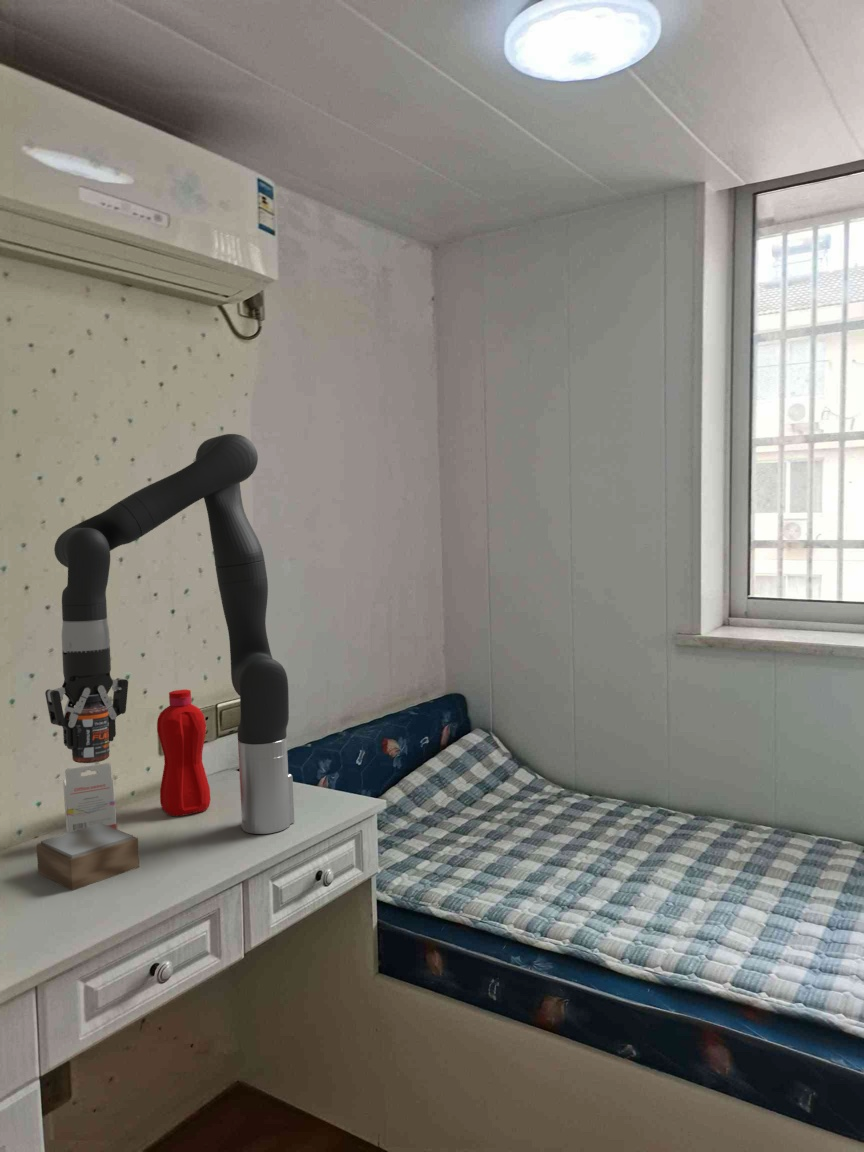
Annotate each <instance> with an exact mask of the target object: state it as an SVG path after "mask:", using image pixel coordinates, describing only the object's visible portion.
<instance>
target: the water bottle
mask: <svg viewBox="0 0 864 1152" xmlns="http://www.w3.org/2000/svg"><path fill="white" fill-rule="evenodd" d="M191 692H192V691H191V689H178V690H172V691H170V692H168V702H169V705H168V706H167V707H165V708H164V709H163V710H162V711H161V712H160V713H159V715H158V718H157V723H156V725H157V727H156V728H157V729H156V730H157V731H156V732H157V734H158V739H159V743H160V746H161V749H162V753H163V756H164V758H163V759H164V760H163V761H164V765H163V769H162V771H163V772H162V778H161V783H160V789H159V796H160V797H159V798H160V799H159V800H160V806H161V809H162V810H163V811H164V813H166V814H167V815H169V816H172V817H182V816H186V815H192V814H195V813H196V814H197V813H202V812H205V810H208V808H209V807H210V805H211V804H210V803H211V788H210V784H209V781H208V778H207V773H206V771H205V767H204V763H203V750H204V745H205V738H206V732H207V724H206V718H205V715H204V713H203V711H201V708H199V707H198V706H196V705H194V704H192V693H191Z"/></svg>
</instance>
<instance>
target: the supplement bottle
mask: <svg viewBox="0 0 864 1152" xmlns="http://www.w3.org/2000/svg"><path fill="white" fill-rule="evenodd" d="M108 719H109V718H108V708H107V707H106V706H104V705H103V703H102V700H101V697H100V695H99V694H93V695H89V696H88V698H87V699H86V702H85V705H84V707H83V710H82V712H81V714H80V715H78V718H77V721H76V724H75V726H74V727H77V749H74V750H71V756H72V761H74V762H75V763H78V764H94V763H99V762H102V761H105V760H107V759H108V758H109V757H110V750H111V749H110V742H111V741H110V742H109V721H108Z"/></svg>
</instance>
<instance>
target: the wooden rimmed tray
mask: <svg viewBox="0 0 864 1152" xmlns="http://www.w3.org/2000/svg"><path fill="white" fill-rule="evenodd" d="M139 851H140V850H139V838H138V837H135V836H134V835H132V834H130V833H127V832H125V831H123V830H119V829H118V828H117V829H115V828H112V827H109V826H107V825H104V824H101V823H100V824H97V825H93V826H90V827H87V828H83V829H80V830H77V831H73V832H70V833H67V832H66V833H64V834H61V835H57V836H54V837H50V838H47V839H44V840H40V843H37V844H36V858H37V873H38V874H39V875H42V876H44V877H46V878H47V879H50V880H52V881H53V882H56V883H58V884H59V885H62V886H64V888H65V887H66V888H68V889H70V890H72V891H74V890H77V889H80V888H82V887H85V886H86V887H87V886H88V885H91V884H94V883H98V882H100V881H103V880H106V879H108V878H111V877H115V876H117V875H120V874H123V873H125V871H126V872H129V871H131V869H132V870H134V868H135V869H137V868H140V855H139V854H140V852H139ZM136 867H137V868H136ZM128 870H129V871H128Z"/></svg>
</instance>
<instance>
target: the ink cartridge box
mask: <svg viewBox="0 0 864 1152" xmlns="http://www.w3.org/2000/svg"><path fill="white" fill-rule="evenodd" d="M87 771H90V772H96V773H93V774H87V775H81V774H82V773H87ZM64 773H65V779H62V780H63V781H62V782H63V783H62V784H63V785H62V786H63V796H64V813H65V824H66V825H65V827H66V828H65V829H66V834H67V833H70V832H73V831H77V830H80V829H83V828H87V827H90V826H93V825H97V824H100V823H101V824H104V825H107V826H109V827H112V828H115V829H117V830H118V828H117V816H116V815H117V813H116V803H115V802H116V800H115V789H114V788H115V786H114V778H113V776H112V773H113V772H112V764H111V762H105V763H104V762H103V763H97V764H90V765H83V766H78V767H77V766H76V767H71V768H69V767H68V768H67V769H65V770H64Z"/></svg>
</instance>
